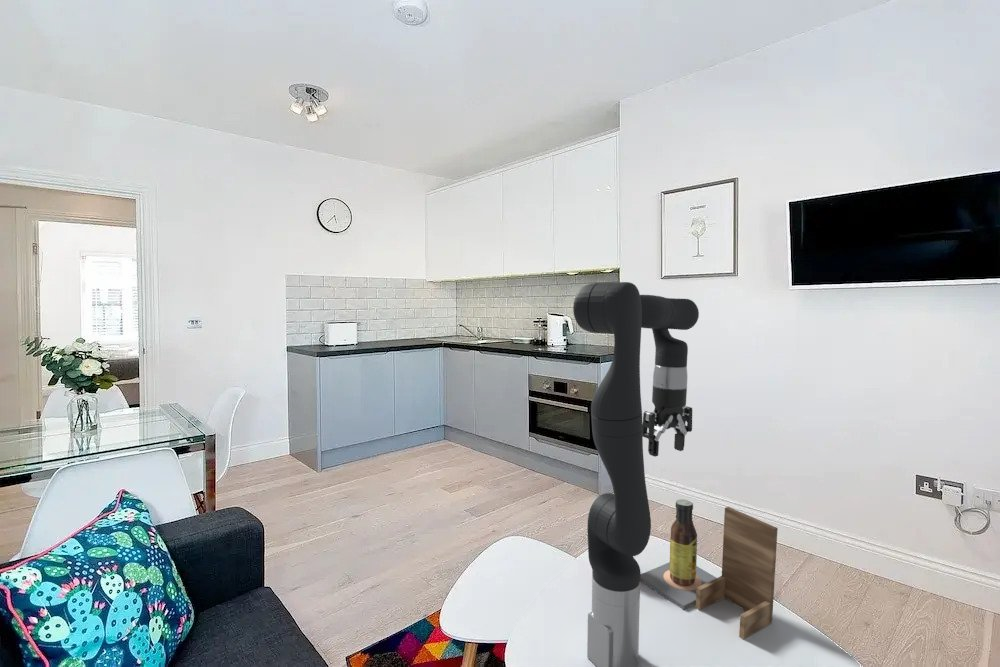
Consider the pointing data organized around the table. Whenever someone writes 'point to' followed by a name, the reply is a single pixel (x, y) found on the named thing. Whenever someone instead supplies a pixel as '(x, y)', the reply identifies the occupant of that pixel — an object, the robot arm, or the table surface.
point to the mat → (675, 585)
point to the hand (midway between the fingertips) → (666, 452)
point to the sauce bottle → (683, 545)
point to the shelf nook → (745, 571)
